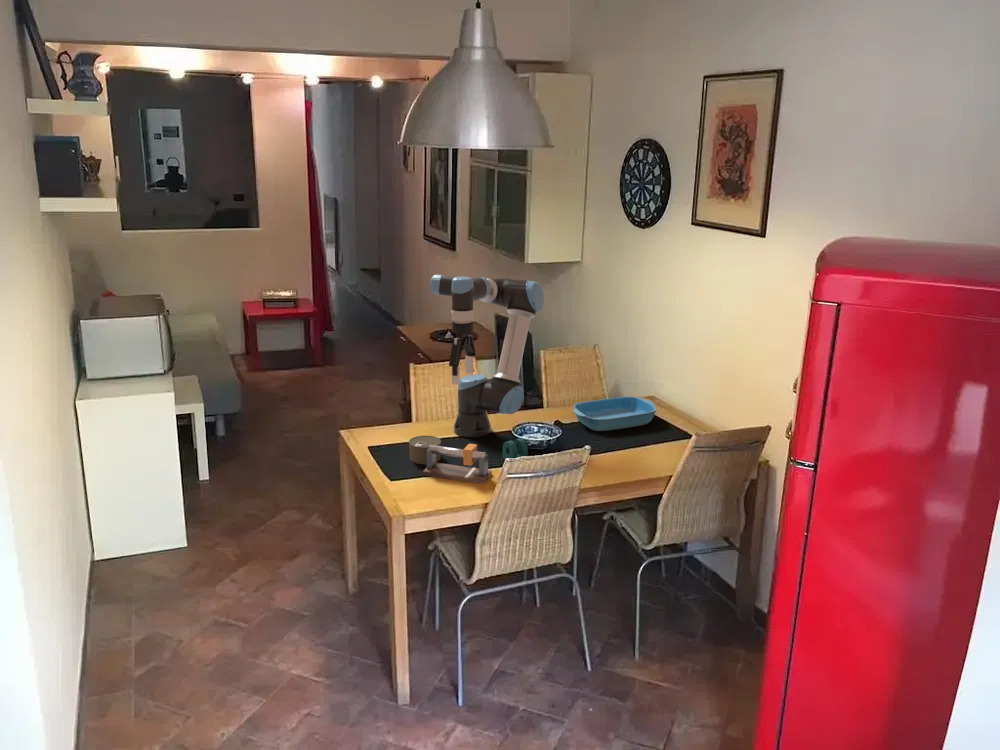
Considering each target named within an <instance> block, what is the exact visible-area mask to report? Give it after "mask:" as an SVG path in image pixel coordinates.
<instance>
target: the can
mask: <svg viewBox="0 0 1000 750" xmlns="http://www.w3.org/2000/svg"><path fill="white" fill-rule="evenodd" d="M441 444H442V439H440V438H439V437H437V436H433V435H417V436H414V437H412V438H410V439H409V440H408V445H409V446H408V447H409V460H410V461H411V462H412V463H414V464H417V465H418V464H419V465H427V455H426V451H427V450H428V448H429V446H430V445H435V446H442V445H441ZM441 456H442V455H439V454H436V463H439V461H440V460H441Z"/></svg>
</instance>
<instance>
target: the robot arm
mask: <svg viewBox="0 0 1000 750" xmlns="http://www.w3.org/2000/svg"><path fill="white" fill-rule="evenodd" d="M429 290H430V292H431V293H432V294H433V295H435V296H439V297H440V296H441V297H450V298H451V311H450V314H451V320H452V322H451V332H452V333H454V334H455V337H453V338H452V341H451V344H452V345H451V350H450V356H449V362H448V366H449V367H451V385H457V414H456V415H457V416H456V419H455V420H454V424H453V432H454V434H456V435H457V436H460V437H465V438H479V437H480V438H481V437H484V436H487V435H489V434H490V433H491V431H492V426H491V425H492V424H491V422H490V419H489V416H488V413H487V411H488V412H495V413H500V414H502V415H504V414H505V415H515V413H517V412H518V410H519V409H520V408H521V406H522V404H523V401H524V397H525V396H524V395H525V394H524V391H525V390H524V388H523V387H522V386H521V380H520V379H519V375H520V370H521V367H522V366H521V365H522V361H523V357H524V356H523V355H524V352H525V346H526V343H527V337H528V333H529V332H528V331H529V327H530V323H531V320H532V319H534V318H535V317H536V314H537V312H540V311H541V310H542V309H543V307H544V301H545V295H544V289H543V286H542V285H541V284H540V283H539V282H537V281H532V280H530V279H527V280H526V279H514V278H507V277H506V278H505V277H503V278H502V277H501V278H487V277H484V276H480V277H479V276H477V277H473V278H472V277H470V276H465V275H463V276H456V275H455V276H454V275H447V274H446V275H445V274H434V275H433V276H432V277H431V279H430V282H429ZM478 300H479V301H481V302H482V303H488V304H492V305H495V306H499V307H503V308H506V312H507V314H508V315H509V316H508V321H507V326H506V330H505V335H504V339H503V344H502V349H501V353H500V357H499V363H498V367H497V371H496V373H495V374H494V375H493V376H492V377H491V380H490V381H489V380H488V376H486V374H485V375H484V374H474V357H476V355H477V353H476V347H475V343H474V336H473V333H474V302H476V301H478ZM463 351H464V352H465V354H466V355H465V358H464V360H465V366H464V367H465V371H464V372H465V374H469V375H465V376H463V377H461V369H460V368H461V366H460V361H461V358H462V355H463Z"/></svg>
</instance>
